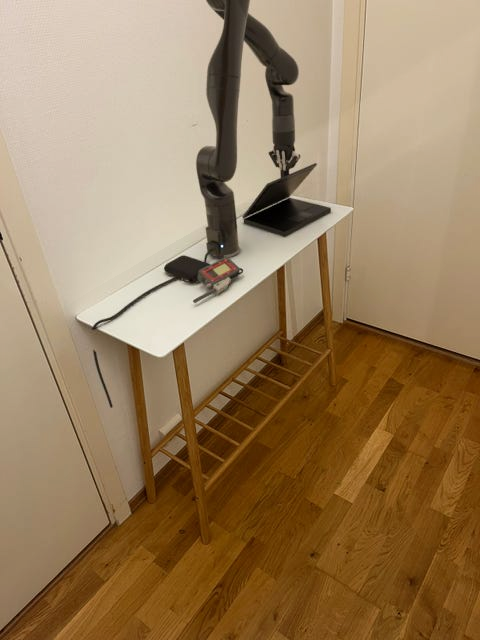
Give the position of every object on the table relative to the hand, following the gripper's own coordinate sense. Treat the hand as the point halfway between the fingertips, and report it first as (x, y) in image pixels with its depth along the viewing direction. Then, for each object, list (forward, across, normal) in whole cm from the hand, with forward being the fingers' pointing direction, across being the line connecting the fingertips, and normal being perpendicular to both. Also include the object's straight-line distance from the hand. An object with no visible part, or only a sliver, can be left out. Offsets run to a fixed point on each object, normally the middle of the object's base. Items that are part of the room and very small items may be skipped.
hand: (285, 180), depth 159 cm
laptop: (+14, +1, 0) cm, 14 cm away
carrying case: (+14, +4, -50) cm, 52 cm away
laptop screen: (+5, -2, 0) cm, 5 cm away
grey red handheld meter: (+9, +17, -51) cm, 55 cm away
